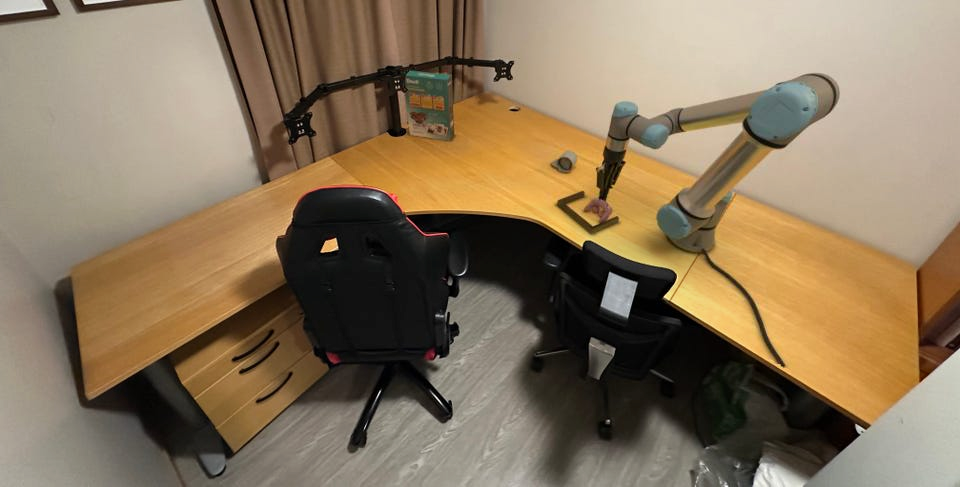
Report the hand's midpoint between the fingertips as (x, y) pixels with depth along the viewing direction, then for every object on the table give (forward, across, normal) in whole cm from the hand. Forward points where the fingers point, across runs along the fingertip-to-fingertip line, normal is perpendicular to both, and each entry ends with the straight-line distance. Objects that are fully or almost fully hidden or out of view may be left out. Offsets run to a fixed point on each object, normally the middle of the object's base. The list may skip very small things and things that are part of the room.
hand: (601, 201), depth 155 cm
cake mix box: (+4, +31, -89) cm, 94 cm away
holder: (+3, +6, 0) cm, 7 cm away
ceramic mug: (+4, -7, -31) cm, 32 cm away
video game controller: (+4, +4, +2) cm, 6 cm away
